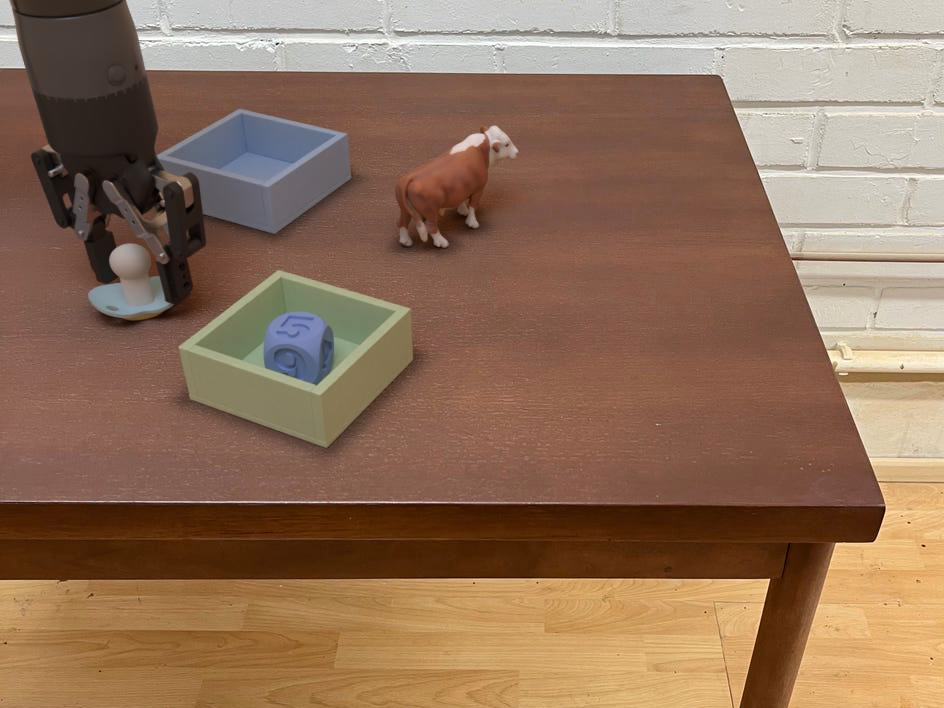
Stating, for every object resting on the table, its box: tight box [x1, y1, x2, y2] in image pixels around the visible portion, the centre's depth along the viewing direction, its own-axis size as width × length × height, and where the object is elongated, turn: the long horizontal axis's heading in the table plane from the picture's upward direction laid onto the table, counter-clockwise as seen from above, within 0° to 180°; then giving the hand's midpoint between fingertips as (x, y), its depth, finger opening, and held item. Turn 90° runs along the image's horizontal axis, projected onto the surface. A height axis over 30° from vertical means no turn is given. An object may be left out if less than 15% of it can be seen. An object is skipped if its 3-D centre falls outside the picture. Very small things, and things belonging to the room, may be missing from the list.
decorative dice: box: [263, 312, 334, 385], centre depth 72 cm, size 4×4×4 cm
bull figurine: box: [394, 125, 519, 249], centre depth 87 cm, size 4×13×8 cm, turn 135°
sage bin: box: [177, 269, 414, 449], centre depth 72 cm, size 12×12×4 cm
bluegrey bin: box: [156, 108, 352, 235], centre depth 94 cm, size 13×13×4 cm
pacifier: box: [87, 242, 175, 321], centre depth 78 cm, size 7×6×6 cm
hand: (144, 288), depth 79 cm, fingers closed on pacifier, 6 cm apart
